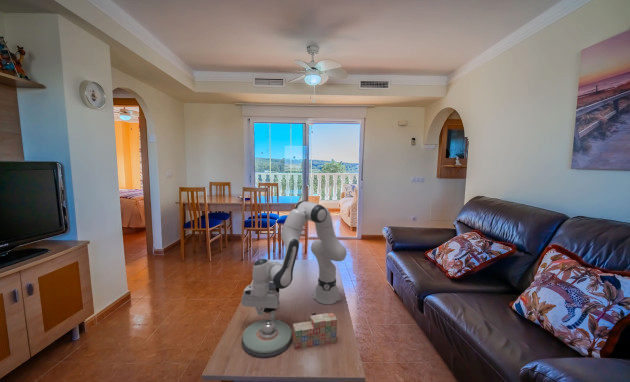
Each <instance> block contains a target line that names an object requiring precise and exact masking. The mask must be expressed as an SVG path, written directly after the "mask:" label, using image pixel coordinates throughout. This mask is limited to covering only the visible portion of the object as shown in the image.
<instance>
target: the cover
mask: <svg viewBox="0 0 630 382" xmlns="http://www.w3.org/2000/svg"><path fill="white" fill-rule="evenodd" d="M276 335H277V328H276V327H275V322H274V321H273V320H266V321H264V322H263V323H262V328H261V329H260V331H259V336H260V337H261V338H262V339H272V338H274V337H275V336H276Z"/></svg>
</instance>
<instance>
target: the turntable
mask: <svg viewBox="0 0 630 382" xmlns="http://www.w3.org/2000/svg"><path fill="white" fill-rule="evenodd" d="M266 320H273V321H274V322H275V327H276V328H277V335H276V336H275V337H274V338H272V339H262V338H261V337H260V336H259V331H260V329H261V328H262V323H263V322H264V321H266ZM291 332H292V328H291V327H290V326H289V325H288V323H286V322H285V321H283V320H279V319H276V310H274V311H271V312H270V318H269V319H267V318H266V319H261V320H260V319H259V320H258V321H255V322H253V323H251V324H250V325H248V326H247V327H246V328H245V330H244V332H243V334H242V337H243V343H244V345H245V347H246V348H247V349H249V350H250V351H253V352H256V353H272V352H276V351H278V350H280V349H282V348H284V347H285V346H286V345H287V344H288V343H289V341H290V339H291Z"/></svg>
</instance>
